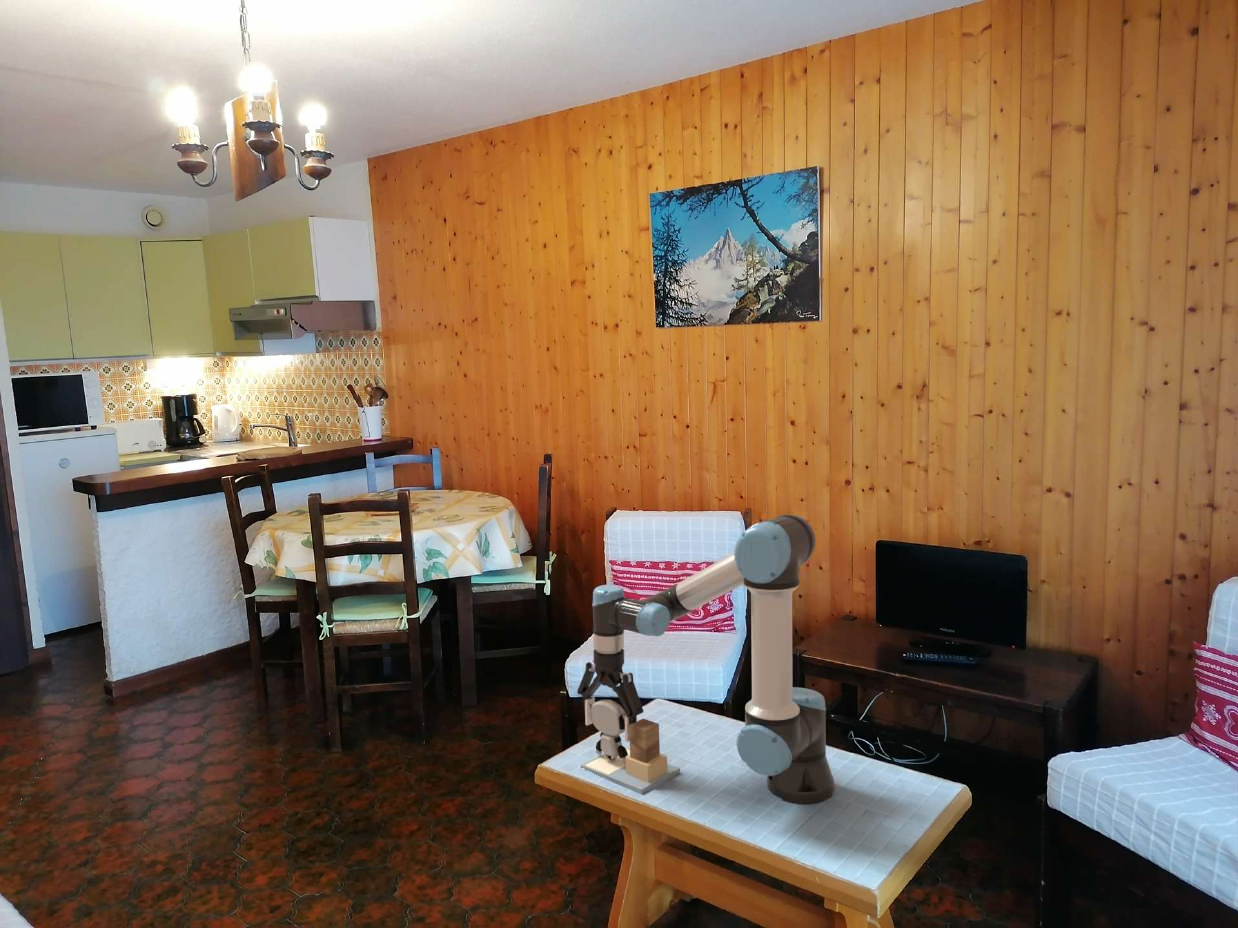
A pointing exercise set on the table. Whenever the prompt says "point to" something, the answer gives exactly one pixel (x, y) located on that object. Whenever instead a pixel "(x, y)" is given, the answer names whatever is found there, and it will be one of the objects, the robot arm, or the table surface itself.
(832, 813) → the table surface
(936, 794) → the table surface
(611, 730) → the robot toy
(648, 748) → the walnut block
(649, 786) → the board
